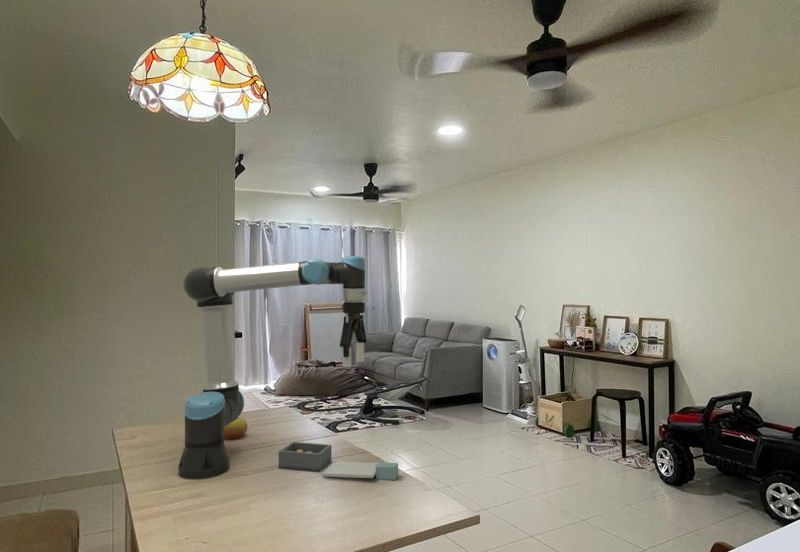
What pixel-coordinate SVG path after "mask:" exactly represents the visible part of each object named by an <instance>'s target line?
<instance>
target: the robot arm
mask: <svg viewBox="0 0 800 552" xmlns="http://www.w3.org/2000/svg"><path fill="white" fill-rule="evenodd" d="M365 264H366V262H365V258H364V257H363V256H359V255H358V256H357V255H353V256H352V255H351V256H348V255H347V256H344V257H343V258H342V261H341V262H339V261H338V262H330V261H329V262H327V261H323V260H322V259H318V258H317V259H310V260H306V261H297V262H296V261H295V262H284V263H276V264H275V263H274V264H265V265H256V266H255V265H254V266H247V267H236V268H234V267H233V268H222V266H217V267H216V266H214V267H213V266H212V267H207V266H198V267H195V268H192V269H191V270H190V271H189V272H188V273H186V275H185V277H184V280H183V289H184V292H185V293H186V295H187V296H188V297H189V298H190V299H191V300H193V301H195V302H196V307H197V309H198V310H199V311H200V312H201V313H202V324H203V325H202V326H203V340H204V343H203V344H204V354H205V356H204V357H205V368H206V384H205V385H204V386H203V387H202V392H199V393H195V394H194V395H191V396H189V397H188V398H187V400H186V401H185V404H184V406H185V408H184V411H183V413H184V448H183V452H182V454H181V457H180V461H179V463H178V467H177V474H178V476H179V477H181V478H184V479H191V480H192V479H193V480H196V479H197V480H198V479H208V478H213V477H216V476H219V475H221V474H225V473H227V472H228V471H229V470H230V467H231V465H230V464H231V460H230V458H229V455H228V452H227V448H226V444H225V437H224V427H225V426H226V425H228V424H229V423H231V422H233V421H235V420H236V419H237V418H238V417H239V416H240V415H241V414H242V413H243V410H244V408H245V398H244V396H243V393H242V392H241V391H240V387H239V382H238V381H236V380H235V378H234V368H233V354H232V340H231V326H230V325H231V324H230V312H229V311H230V310H231V308H232V307H233V305H234V304H233V296H234V294H235V293H239V292H249V291H250V292H251V291H257V290H260V291H261V290H269V289H278V288H287V287H296V286H297V287H300V286H308V285H318V286H319V285H342V300H343V303H342V313H344V314H347V316H343V325H342V330H341V336H340V341H339V347H340V348H342V368H352V346H351V343H352V340H353V337H354V335H355V338H356V343H355V358H356V359H355V362H364V361H365V343H367V342H368V340H367V333H366V327H365V322H364V313H365V312H366V303H365V302H364V301H366V300H365V299H366V297H365V296H366V295H367V292H366V265H365Z"/></svg>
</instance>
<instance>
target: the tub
mask: <svg viewBox="0 0 800 552" xmlns="http://www.w3.org/2000/svg"><path fill="white" fill-rule="evenodd" d="M331 463H332V444H323V443H313V442H312V443H311V442H298V441H292V442H290V443H289V444H287V445H286V446H285V447H283V448H281V449H280V450H278V469H281V470H289V471H301V472H310V473H311V472H312V473H320V472H322V471H323V470H324V469H326V467H328V466H329V464H331Z"/></svg>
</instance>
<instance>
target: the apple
mask: <svg viewBox="0 0 800 552" xmlns="http://www.w3.org/2000/svg"><path fill="white" fill-rule="evenodd" d="M247 431H248V423H247V420H246V419H245V418H243V417H238V418H237V419H236V420H235V421H233V422H231V423H229V424H228V425H226V426H225V427H224V439H227V440H237V439H240V438H242V437H243V436H245V434H246V432H247Z"/></svg>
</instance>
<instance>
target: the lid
mask: <svg viewBox="0 0 800 552" xmlns="http://www.w3.org/2000/svg"><path fill="white" fill-rule="evenodd" d="M321 477H332V478H351V479H353V478H354V479H374V477H375V480H388V481H390V480H392V481H396V480H397V478H398V477H399V462H359V461H357V462H356V461H354V462H353V461H334V462H332V463H330V465H328V466H327V468H325V470H324V471H323V472H322V473H321Z"/></svg>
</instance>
